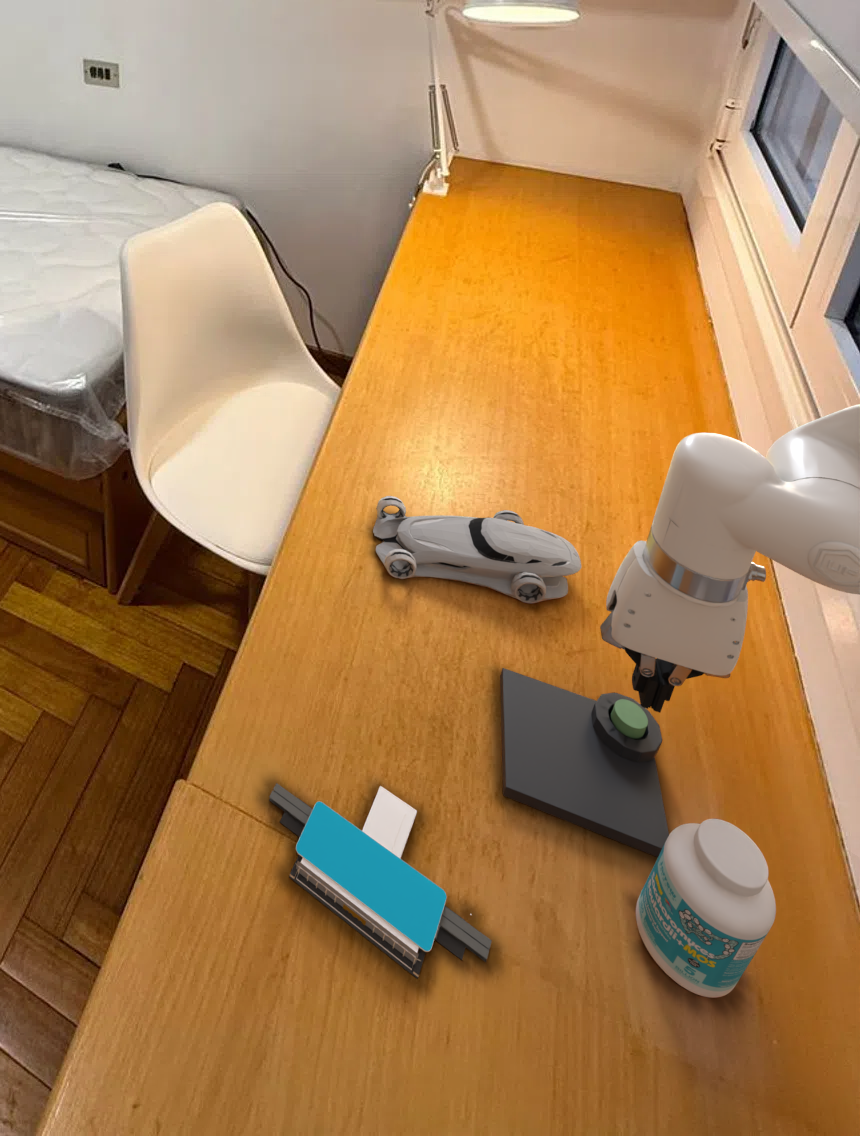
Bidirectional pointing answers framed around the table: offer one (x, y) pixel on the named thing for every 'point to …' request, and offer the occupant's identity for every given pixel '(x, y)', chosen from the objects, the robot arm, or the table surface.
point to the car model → (476, 551)
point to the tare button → (629, 719)
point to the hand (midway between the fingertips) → (647, 696)
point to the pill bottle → (706, 906)
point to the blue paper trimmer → (374, 879)
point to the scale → (581, 762)
